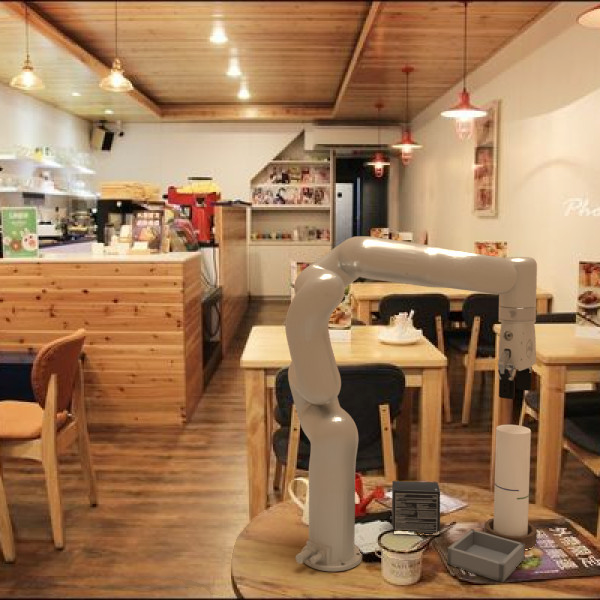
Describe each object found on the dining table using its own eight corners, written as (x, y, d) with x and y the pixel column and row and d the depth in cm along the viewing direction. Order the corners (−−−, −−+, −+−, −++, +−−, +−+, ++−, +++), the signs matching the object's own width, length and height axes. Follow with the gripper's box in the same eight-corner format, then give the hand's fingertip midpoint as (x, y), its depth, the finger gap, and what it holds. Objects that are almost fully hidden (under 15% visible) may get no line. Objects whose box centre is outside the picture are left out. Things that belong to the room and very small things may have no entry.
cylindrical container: (491, 532, 153) (494, 424, 151) (523, 534, 152) (527, 425, 150) (495, 546, 146) (498, 433, 144) (530, 548, 145) (533, 434, 143)
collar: (525, 556, 142) (525, 542, 142) (477, 542, 148) (477, 528, 148) (542, 538, 150) (543, 525, 150) (496, 526, 157) (496, 513, 156)
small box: (437, 524, 157) (438, 480, 157) (440, 537, 151) (441, 491, 150) (391, 522, 159) (392, 479, 158) (392, 535, 152) (393, 489, 151)
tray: (502, 582, 131) (503, 565, 131) (447, 564, 138) (447, 548, 138) (524, 560, 140) (524, 543, 140) (471, 544, 147) (471, 528, 147)
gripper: (519, 320, 136) (517, 404, 137) (548, 312, 149) (546, 389, 151) (483, 317, 140) (482, 399, 142) (515, 310, 154) (513, 384, 155)
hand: (515, 393), depth 146 cm, fingers open, 9 cm apart
